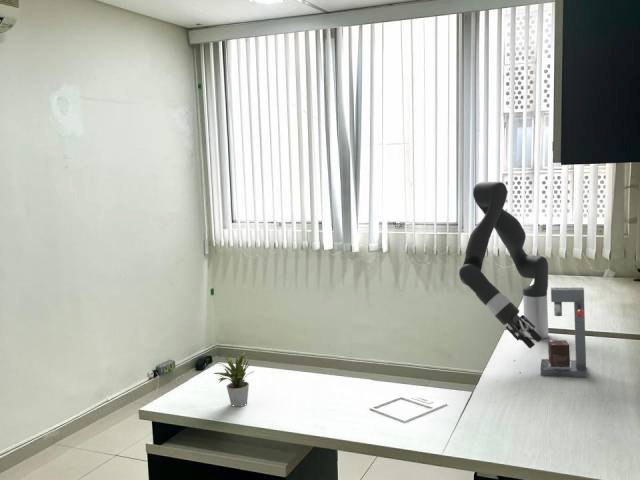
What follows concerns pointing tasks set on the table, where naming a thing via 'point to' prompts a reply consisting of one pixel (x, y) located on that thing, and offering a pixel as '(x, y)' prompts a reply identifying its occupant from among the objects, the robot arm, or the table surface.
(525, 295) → the robot arm
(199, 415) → the table surface
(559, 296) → the press
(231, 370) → the house plant
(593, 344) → the table surface
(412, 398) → the photo frame
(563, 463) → the table surface
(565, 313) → the table surface
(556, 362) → the box
